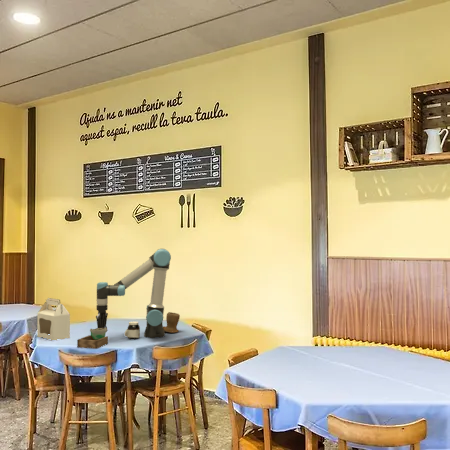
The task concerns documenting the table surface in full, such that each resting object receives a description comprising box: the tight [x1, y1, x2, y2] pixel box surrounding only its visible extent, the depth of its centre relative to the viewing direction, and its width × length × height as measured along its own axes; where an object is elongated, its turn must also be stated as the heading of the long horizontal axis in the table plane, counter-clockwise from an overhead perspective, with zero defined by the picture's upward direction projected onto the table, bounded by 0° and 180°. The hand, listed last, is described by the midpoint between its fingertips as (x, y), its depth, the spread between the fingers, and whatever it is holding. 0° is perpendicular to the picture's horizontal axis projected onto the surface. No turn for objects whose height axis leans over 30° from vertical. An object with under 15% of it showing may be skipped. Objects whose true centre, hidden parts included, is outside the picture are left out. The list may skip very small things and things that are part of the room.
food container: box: [89, 325, 108, 341], centre depth 344 cm, size 12×6×10 cm, turn 128°
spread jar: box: [124, 320, 141, 340], centre depth 361 cm, size 12×11×12 cm
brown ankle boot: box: [163, 311, 181, 334], centre depth 383 cm, size 15×12×15 cm
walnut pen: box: [76, 334, 109, 350], centre depth 337 cm, size 14×15×5 cm
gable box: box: [36, 297, 71, 341], centre depth 363 cm, size 22×13×28 cm, turn 50°
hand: (101, 338), depth 350 cm, fingers closed
